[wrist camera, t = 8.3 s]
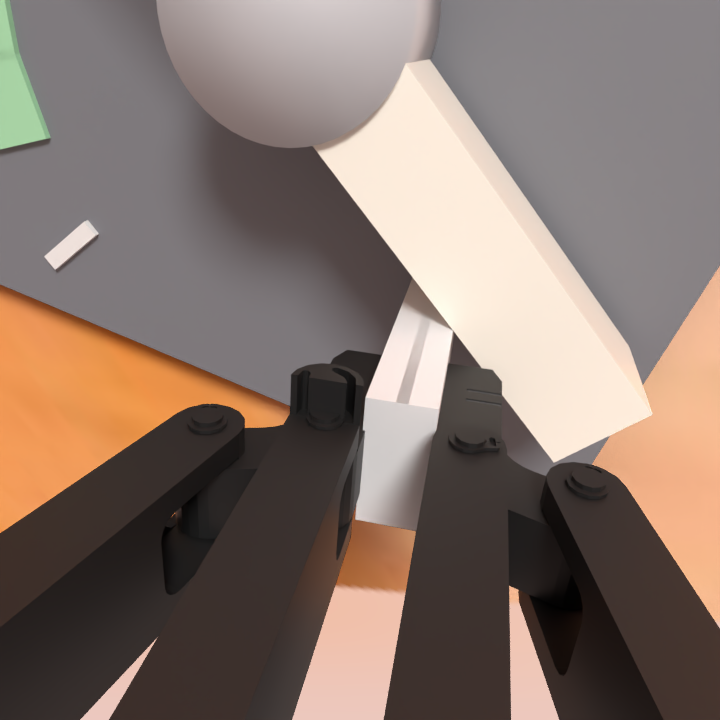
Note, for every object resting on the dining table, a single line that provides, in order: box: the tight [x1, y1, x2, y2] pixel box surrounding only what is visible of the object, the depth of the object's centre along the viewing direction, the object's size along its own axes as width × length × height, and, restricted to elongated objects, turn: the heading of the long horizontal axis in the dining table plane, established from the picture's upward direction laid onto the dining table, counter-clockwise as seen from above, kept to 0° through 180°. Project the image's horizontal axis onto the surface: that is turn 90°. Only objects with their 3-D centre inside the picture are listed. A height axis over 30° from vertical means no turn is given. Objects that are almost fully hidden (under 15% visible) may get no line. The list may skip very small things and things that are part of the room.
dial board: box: [0, 0, 720, 476], centre depth 16 cm, size 23×22×1 cm
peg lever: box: [156, 0, 653, 462], centre depth 14 cm, size 21×5×4 cm, turn 39°
